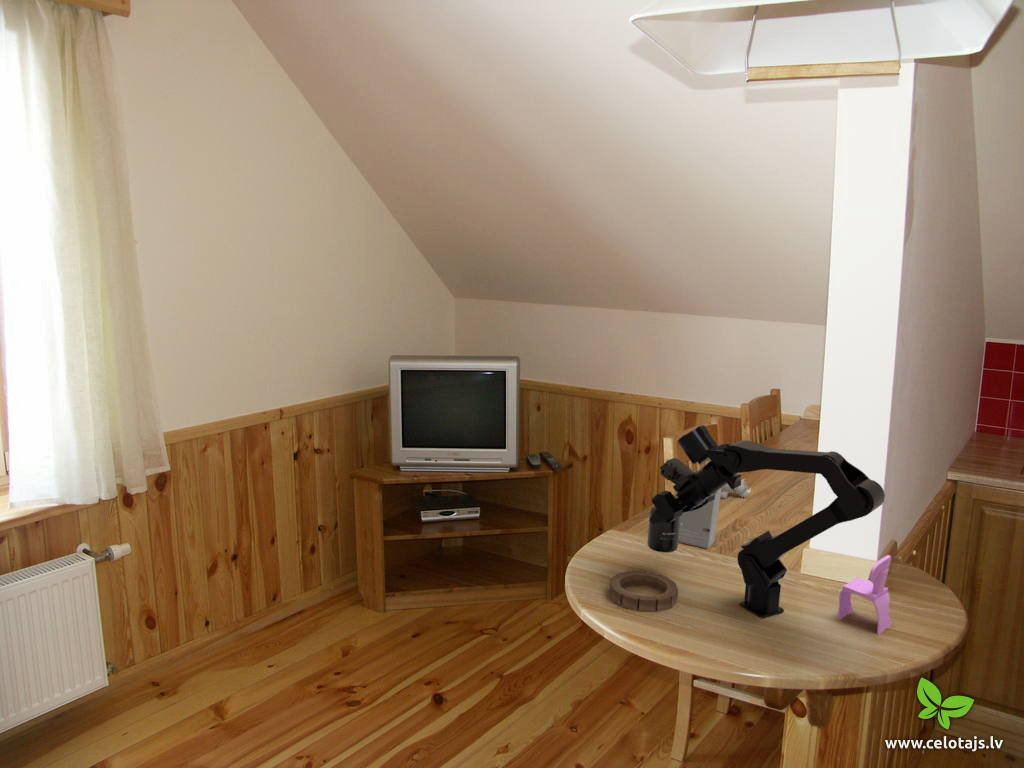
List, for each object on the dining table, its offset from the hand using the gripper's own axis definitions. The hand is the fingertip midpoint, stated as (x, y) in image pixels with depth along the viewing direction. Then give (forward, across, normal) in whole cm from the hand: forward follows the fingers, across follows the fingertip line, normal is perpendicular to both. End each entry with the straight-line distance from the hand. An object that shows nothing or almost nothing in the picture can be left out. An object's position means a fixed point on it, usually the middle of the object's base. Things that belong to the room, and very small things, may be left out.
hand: (659, 517), depth 184 cm
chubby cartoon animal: (+18, -60, 0) cm, 63 cm away
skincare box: (+11, -23, +8) cm, 27 cm away
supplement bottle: (+4, 0, +6) cm, 7 cm away
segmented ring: (+6, +13, +12) cm, 19 cm away
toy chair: (-20, -10, +40) cm, 46 cm away
